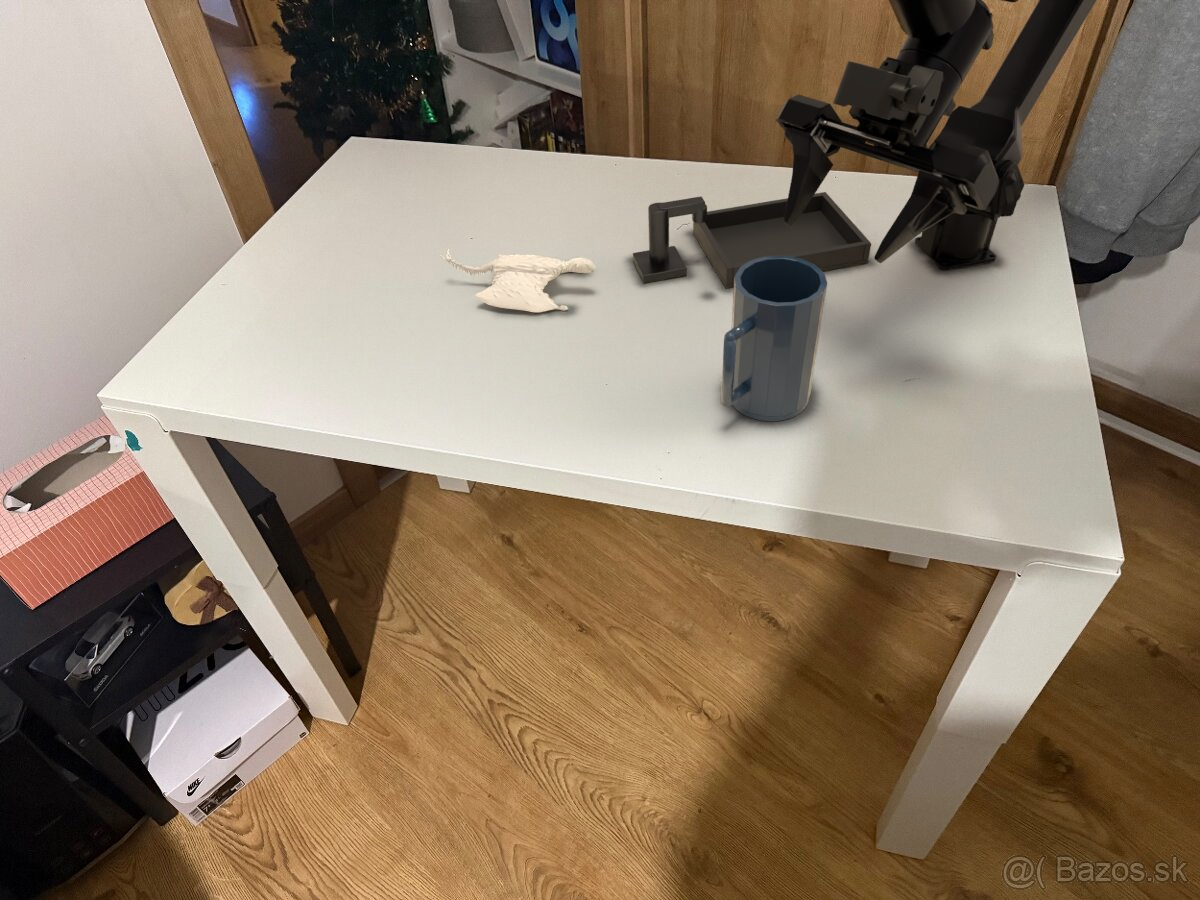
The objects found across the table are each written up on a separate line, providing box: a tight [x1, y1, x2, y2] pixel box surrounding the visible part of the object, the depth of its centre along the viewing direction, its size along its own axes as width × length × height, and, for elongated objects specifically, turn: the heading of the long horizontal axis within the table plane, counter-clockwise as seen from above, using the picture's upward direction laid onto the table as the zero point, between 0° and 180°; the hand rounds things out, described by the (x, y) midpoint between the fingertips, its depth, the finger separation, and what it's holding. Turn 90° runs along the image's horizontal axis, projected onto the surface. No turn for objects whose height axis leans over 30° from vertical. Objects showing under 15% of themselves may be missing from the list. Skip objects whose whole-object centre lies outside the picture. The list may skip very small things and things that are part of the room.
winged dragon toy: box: [440, 249, 596, 313], centre depth 90 cm, size 18×10×4 cm, turn 78°
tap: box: [632, 196, 708, 284], centre depth 90 cm, size 8×5×8 cm, turn 102°
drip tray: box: [692, 191, 872, 289], centre depth 93 cm, size 16×12×2 cm
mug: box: [720, 256, 828, 422], centre depth 71 cm, size 10×7×12 cm
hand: (830, 242), depth 70 cm, fingers open, 9 cm apart
